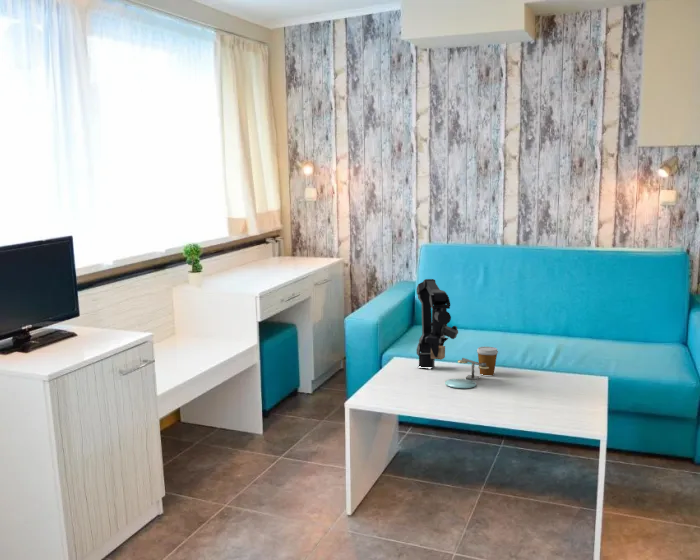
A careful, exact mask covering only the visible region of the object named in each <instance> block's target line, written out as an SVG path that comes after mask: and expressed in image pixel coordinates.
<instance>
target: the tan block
mask: <svg viewBox="0 0 700 560" xmlns="http://www.w3.org/2000/svg"><path fill="white" fill-rule="evenodd" d="M445 358H446V346H445V345H443V346H439V350H438V356H437V357H435V356H434V354H433V352H432V349H431V359H435V360H441V361H442V360H443V359H445Z"/></svg>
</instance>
